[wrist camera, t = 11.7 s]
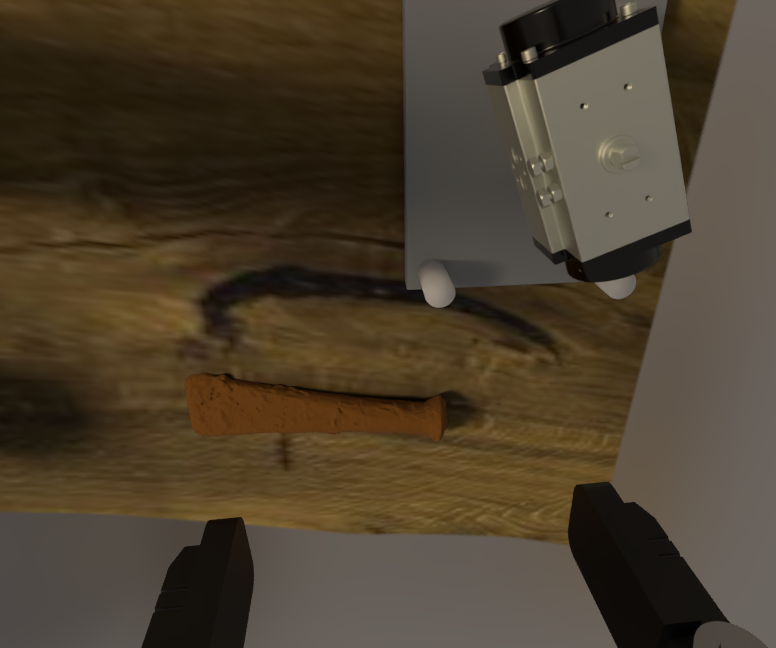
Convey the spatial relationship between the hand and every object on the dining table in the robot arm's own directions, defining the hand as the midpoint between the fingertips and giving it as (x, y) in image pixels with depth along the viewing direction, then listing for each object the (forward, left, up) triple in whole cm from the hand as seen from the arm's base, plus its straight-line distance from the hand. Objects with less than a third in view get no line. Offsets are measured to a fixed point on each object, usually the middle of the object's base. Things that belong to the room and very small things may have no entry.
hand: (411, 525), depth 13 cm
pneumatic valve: (+2, +11, -22) cm, 25 cm away
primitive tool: (+6, -13, -24) cm, 28 cm away
